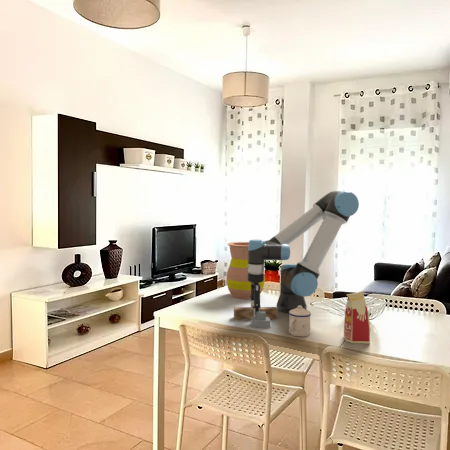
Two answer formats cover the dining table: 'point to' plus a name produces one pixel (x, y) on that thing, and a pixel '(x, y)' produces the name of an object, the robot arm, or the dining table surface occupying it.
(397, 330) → the dining table surface
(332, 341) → the dining table surface
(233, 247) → the vase
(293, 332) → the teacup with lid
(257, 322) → the block
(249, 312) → the walnut bar
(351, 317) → the milk carton
